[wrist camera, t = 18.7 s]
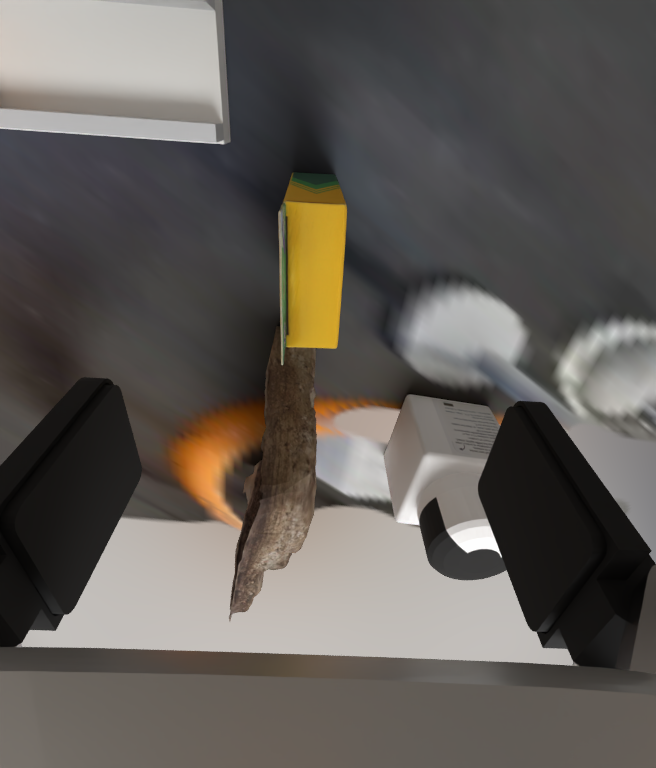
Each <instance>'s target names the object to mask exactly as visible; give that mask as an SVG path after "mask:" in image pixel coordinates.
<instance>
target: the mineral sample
mask: <svg viewBox="0 0 656 768" xmlns="http://www.w3.org/2000/svg"><path fill="white" fill-rule="evenodd" d="M315 359H316V350H315V348H305V347H285V354H284V364H283V365H281V327H278V326H276V330H275V337H274V341H273V345H272V349H271V353H270V357H269V362H268V366H267V370H266V375H265V376H266V382H265V386H266V389H265V411H264V416H265V424H266V429H265V432H264V435H263V437H262V444H261V449H262V451H263V459H262V460H261V461H260V462H259V463H257V464H256V465H255V466H254V469H255V471H254V473H253V475H251V476H250V477H246V481H245V483H244V491H243V493H244V492H246V495H247V499H248V507H247V510H246V513H245V516H244V519H243V526H242V530H241V534H240V537H239V540H238V543H237V548H236V554H235V575H234V580H233V587H232V594H231V603H230V610H231V612H230V616H229V620H231V614H233V613H237V612H246V611H247V610H248V609H249V607H250V606H251V604H252V601H253V598H254V597H255V596H256V595H257V594H258V593H259V592H260V591H261V587H262V582H263V573H264V571H266V570H268V569H270V570H276V569H282V568H284V567H286V565H287V564H288V562H289V558H290V556H291V555H292V553H296V552H297V551H299V550H300V549H301V547H302V545H303V542H304V540H305V538H306V536H307V533H308V530H309V526H310V523H311V521H312V518H313V515H314V500H315V494H316V487H317V485H316V472H315V466H316V444H317V440H316V435H317V434H316V418H315V413H316V412H315V410H314V398H315V396H316V393H315V389H314V386H313V384H314V376H315Z"/></svg>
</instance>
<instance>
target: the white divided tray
mask: <svg viewBox="0 0 656 768" xmlns="http://www.w3.org/2000/svg"><path fill="white" fill-rule="evenodd" d="M0 128H1V129H15V130H29V131H44V132H58V133H72V134H86V135H100V136H114V137H128V138H143V139H157V140H171V141H185V142H199V143H213V144H226V143H229V142H231V138H230V121H229V104H228V88H227V71H226V54H225V37H224V21H223V4H222V0H0Z"/></svg>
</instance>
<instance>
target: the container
mask: <svg viewBox="0 0 656 768" xmlns="http://www.w3.org/2000/svg"><path fill="white" fill-rule="evenodd" d="M499 428H500V425H499V424H498V422H497V420H496V418H495V417H494V415H493V413H492V411H491V410H490V408H489V407H488V406H483V405H477V404H470V403H464V402H457V401H451V400H444V399H438V398H432V397H425V396H419V395H412V394H409V395H407V396H406V398H405V400H404V403H403V406H402V408H401V411H400V414H399V416H398V419H397V422H396V425H395V427H394V430H393V433H392V435H391V438H390V441H389V443H388V446H387V449H386V451H385V454H384V462H385V467H386V473H387V478H388V484H389V489H390V494H391V500H392V505H393V511H394V516H395V520H396V521H397V522H399V523H405V524H414V525H420V529H421V533H422V537H423V541H424V545H425V550H426V554H427V558H428V561H429V563H430V565H431V566H432V567H433V568H434V569H435V570H437V571H438V572H439V573H441V574H443V575H444V576H447V577H449V578H453V579H458V580H477V579H484V578H488V577H491V576H495V575H497V574H500V573H502V572H504V571H506V570H507V569H506V567H505V564H504V561H503V559H502V556H501V553H500V551H499V548H498V545H497V543H496V540H495V538H494V535H493V532H492V530H491V527H490V524H489V522H488V519H487V516H486V514H485V511H484V508H483V506H482V503H481V501H480V498H479V495H478V482H479V479H480V477H481V474H482V472H483V469H484V467H485V464H486V461H487V459H488V456H489V454H490V451H491V449H492V446H493V444H494V441H495V438H496V436H497V433H498V431H499Z"/></svg>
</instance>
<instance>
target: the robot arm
mask: <svg viewBox="0 0 656 768" xmlns="http://www.w3.org/2000/svg"><path fill="white" fill-rule="evenodd" d="M141 472H142V467H141V462H140V459H139V455H138V451H137V448H136V444H135V440H134V437H133V433H132V429H131V426H130V422H129V418H128V415H127V411H126V407H125V404H124V400H123V396H122V392H121V389H120V387H119V386H117V385H114V384H113V382H112V381H111V380H110V379H105V378H87V377H84V378H81V379H80V380H78V381H77V382H76V384H75V385H74V386H73V387H72V388H71V389H70V390H69V391H68V392H67V393H66V395H65V396H64V397H63V398H62V399H61V400H60V401H59V402H58V403H57V404H56V405H55V407H54V408H53V409H52V410H51V411H50V412H49V413H48V414H47V415H46V416H45V418H44V419H43V420H42V421H41V422H40V423H39V424H38V425H37V426H36V427H35V428H34V430H33V431H32V432H31V433H30V434H29V435H28V436H27V437H26V438H25V439H24V440H23V442H22V443H21V444H20V445H19V446H18V447H17V448H16V449H15V450H14V451H13V453H12V454H11V455H10V456H9V457H8V458H7V459H6V460H5V461H4V462H3V463H2V465H1V466H0V768H656V564H655V562H654V561H653V560H652V558H651V557H650V555H649V553H650V552H651V550H650V548H649V547H648V545H647V544H646V543H645V542H644V540H643V538H642V537H641V536H640V534H639V533H638V531H637V530H636V529H635V527H634V526H633V525H632V523H631V522H630V520H629V519H628V518H627V516H626V515H625V513H624V512H623V511H622V509H621V508H620V506H619V505H618V504H617V502H616V501H615V499H614V498H613V497H612V495H611V494H610V493H609V491H608V490H607V488H606V487H605V486H604V484H603V483H602V482H601V480H600V479H599V477H598V476H597V474H596V473H595V472H594V470H593V469H592V468H591V466H590V465H589V463H588V462H587V461H586V459H585V458H584V456H583V455H582V454H581V452H580V451H579V450H578V448H577V447H576V445H575V444H574V443H573V441H572V440H571V438H570V437H569V436H568V434H567V433H566V431H565V430H564V429H563V427H562V426H561V424H560V423H559V422H558V420H557V419H556V417H555V416H554V415H553V413H552V412H551V411H550V409H549V408H548V406H547V405H546V404H545V403H542V402H528V401H518V402H517V403H516V404H515V405H514V407H509V408H508V409H507V411H506V413H505V415H504V418H503V421H502V423H501V426H500V428H499V431H498V433H497V436H496V438H495V441H494V444H493V446H492V449H491V451H490V454H489V456H488V459H487V461H486V464H485V467H484V469H483V472H482V474H481V477H480V479H479V482H478V495H479V498H480V501H481V503H482V506H483V508H484V511H485V514H486V516H487V519H488V522H489V524H490V527H491V530H492V532H493V535H494V538H495V540H496V543H497V545H498V548H499V551H500V553H501V556H502V559H503V561H504V564H505V567H506V569H507V572H508V574H509V577H510V580H511V582H512V585H513V587H514V590H515V593H516V595H517V598H518V601H519V604H520V606H521V609H522V611H523V614H524V617H525V619H526V622H527V624H528V626H529V627H530V629H531V630H532V631H535V632H537V634H538V637H539V639H540V642H541V644H542V647H543V648H565V649H568V651H569V653H570V655H571V657H572V660H573V666H567V665H566V666H565V665H550V664H533V663H514V662H486V661H463V660H437V659H412V658H386V657H357V656H328V655H300V654H270V653H239V652H208V651H174V650H138V649H105V648H44V647H39V648H38V647H22V645H21V643H22V642H23V640H24V638H25V636H26V634H27V633H28V631H29V630H52V631H55V630H56V629H57V627H58V625H59V623H60V621H61V619H62V618H63V616H64V614H69V613H70V612H71V611H72V610H73V609H74V608H75V606H76V604H77V602H78V600H79V598H80V596H81V594H82V592H83V590H84V588H85V586H86V585H87V582H88V581H89V579H90V577H91V575H92V573H93V571H94V569H95V567H96V565H97V563H98V561H99V559H100V557H101V555H102V553H103V551H104V549H105V547H106V545H107V543H108V541H109V539H110V537H111V535H112V533H113V531H114V529H115V527H116V526H117V524H118V521H119V520H120V518H121V516H122V514H123V512H124V510H125V508H126V506H127V504H128V502H129V500H130V498H131V496H132V494H133V492H134V490H135V488H136V486H137V484H138V482H139V480H140V477H141Z"/></svg>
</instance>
